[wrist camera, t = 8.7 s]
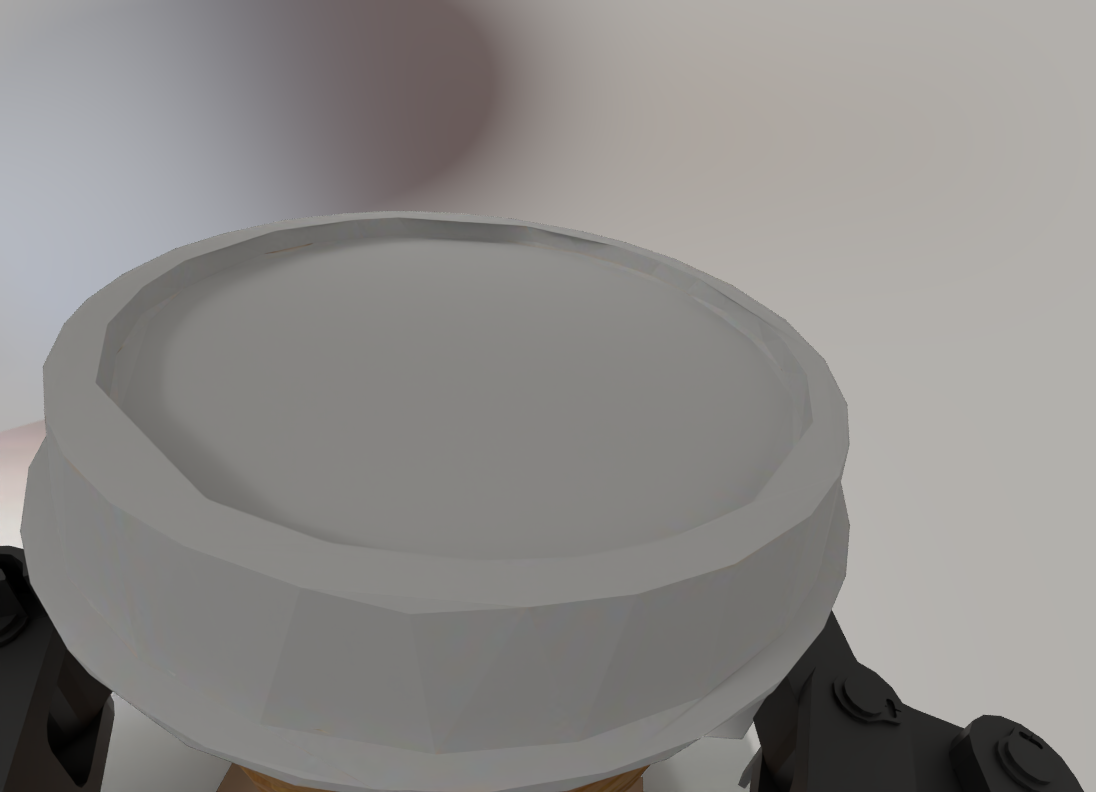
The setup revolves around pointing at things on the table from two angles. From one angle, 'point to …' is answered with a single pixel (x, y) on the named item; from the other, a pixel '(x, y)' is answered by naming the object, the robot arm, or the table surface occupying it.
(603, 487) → the disposable coffee cup
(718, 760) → the table surface
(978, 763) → the robot arm
